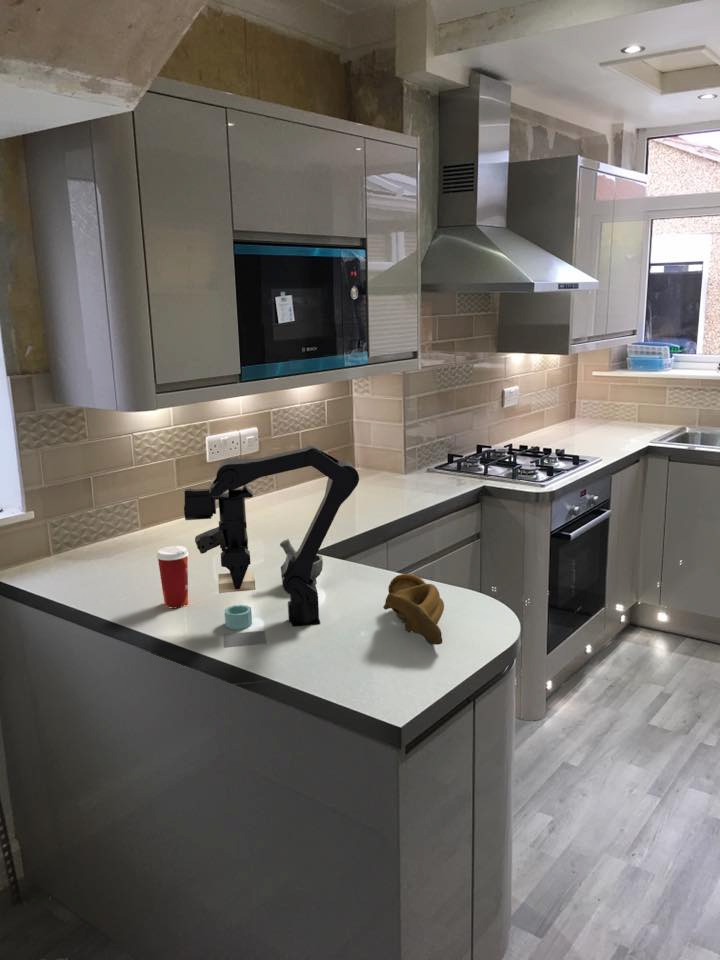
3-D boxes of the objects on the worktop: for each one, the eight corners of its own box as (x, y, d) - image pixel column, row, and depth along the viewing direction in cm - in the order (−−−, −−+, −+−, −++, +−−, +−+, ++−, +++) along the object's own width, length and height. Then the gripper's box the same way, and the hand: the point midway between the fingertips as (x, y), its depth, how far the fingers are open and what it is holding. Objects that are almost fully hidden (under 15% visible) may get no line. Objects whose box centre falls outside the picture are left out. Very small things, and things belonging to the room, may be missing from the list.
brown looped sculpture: (347, 612, 166) (379, 564, 185) (369, 663, 170) (399, 610, 189) (426, 598, 158) (451, 549, 177) (447, 651, 162) (470, 598, 181)
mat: (264, 632, 175) (264, 630, 175) (266, 645, 169) (266, 643, 168) (224, 635, 174) (223, 634, 174) (224, 649, 167) (224, 647, 167)
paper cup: (198, 603, 193) (194, 549, 190) (172, 612, 188) (168, 557, 185) (179, 595, 198) (175, 543, 195) (153, 604, 193) (149, 550, 190)
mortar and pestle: (327, 578, 209) (325, 535, 206) (319, 591, 200) (317, 546, 197) (286, 576, 211) (284, 534, 208) (276, 589, 202) (274, 544, 199)
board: (254, 580, 180) (253, 571, 180) (255, 589, 174) (254, 580, 174) (219, 583, 179) (218, 573, 178) (219, 593, 173) (218, 583, 172)
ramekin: (251, 620, 182) (250, 603, 182) (252, 630, 177) (251, 613, 176) (225, 622, 181) (224, 606, 181) (225, 632, 176) (224, 616, 175)
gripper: (196, 509, 181) (201, 573, 184) (194, 531, 163) (199, 602, 166) (245, 505, 182) (249, 569, 186) (248, 527, 164) (252, 597, 168)
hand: (237, 583), depth 176 cm, fingers closed on board, 6 cm apart
